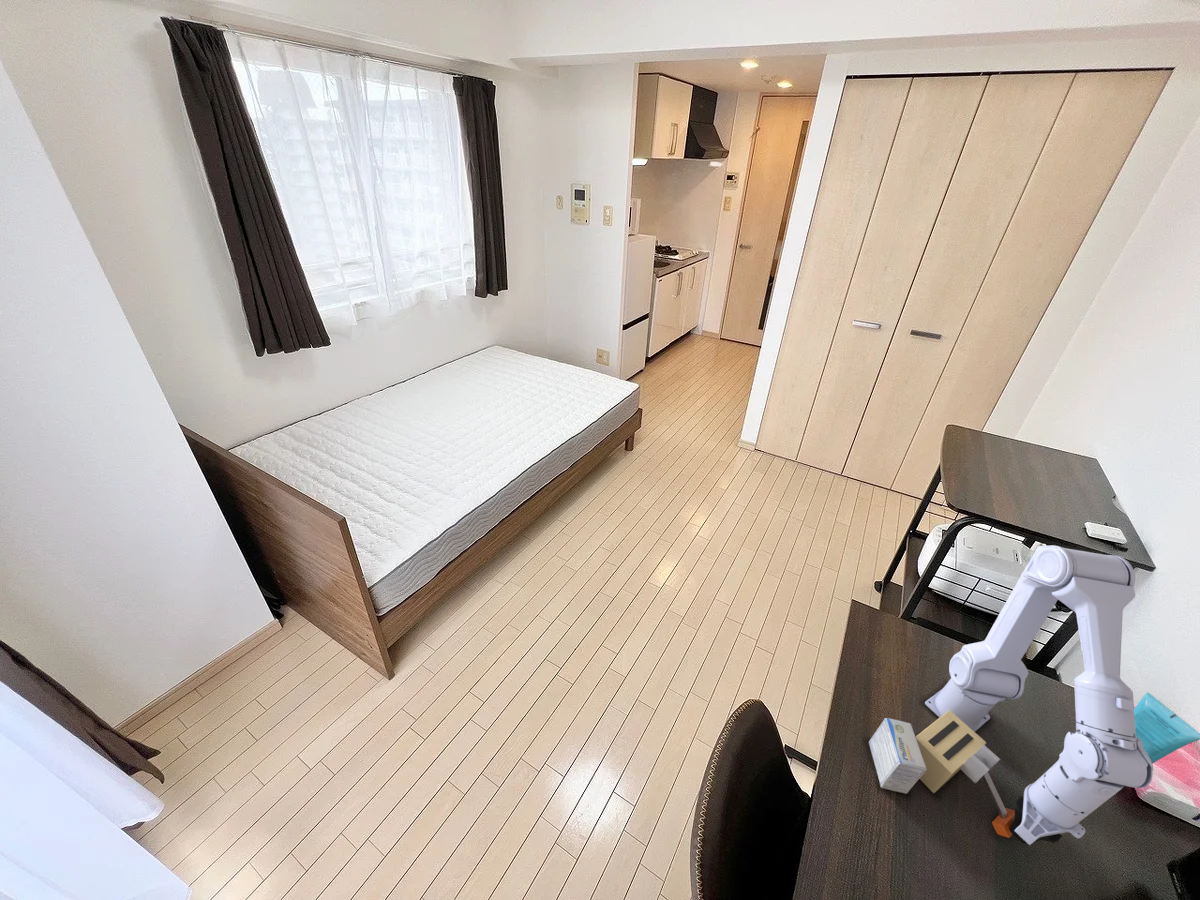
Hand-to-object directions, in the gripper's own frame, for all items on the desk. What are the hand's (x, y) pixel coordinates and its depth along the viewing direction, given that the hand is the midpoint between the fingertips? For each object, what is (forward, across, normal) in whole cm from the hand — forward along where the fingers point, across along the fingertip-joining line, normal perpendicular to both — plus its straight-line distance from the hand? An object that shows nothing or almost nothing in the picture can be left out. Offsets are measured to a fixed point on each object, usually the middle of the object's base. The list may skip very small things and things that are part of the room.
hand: (1019, 833), depth 77 cm
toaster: (+2, 0, +12) cm, 12 cm away
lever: (-2, 0, +6) cm, 6 cm away
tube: (+2, +27, -3) cm, 28 cm away
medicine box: (+2, -9, +16) cm, 19 cm away
